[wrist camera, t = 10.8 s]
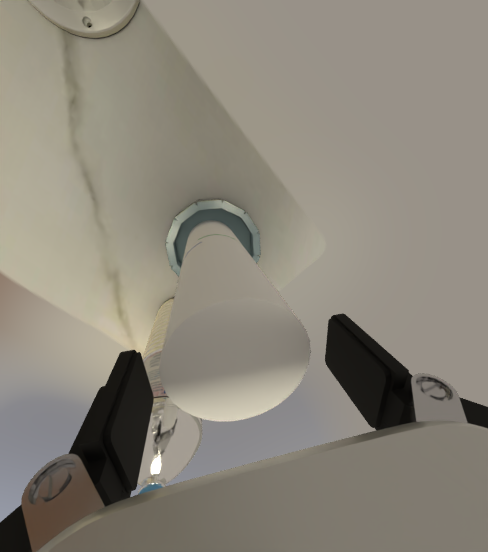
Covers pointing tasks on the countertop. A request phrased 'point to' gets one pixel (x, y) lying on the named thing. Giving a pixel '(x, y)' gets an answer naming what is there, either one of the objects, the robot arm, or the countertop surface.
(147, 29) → the countertop surface
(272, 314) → the cylindrical container
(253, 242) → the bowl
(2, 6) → the countertop surface
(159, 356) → the water bottle
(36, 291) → the countertop surface
